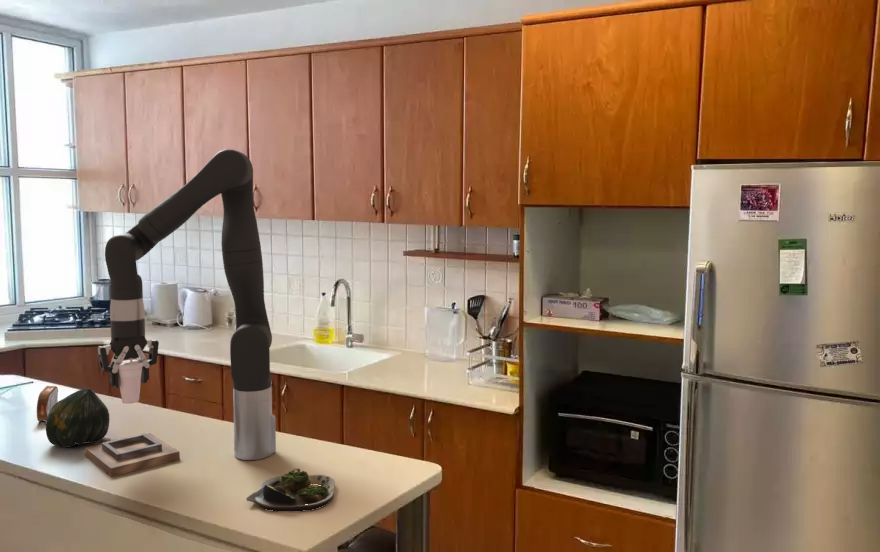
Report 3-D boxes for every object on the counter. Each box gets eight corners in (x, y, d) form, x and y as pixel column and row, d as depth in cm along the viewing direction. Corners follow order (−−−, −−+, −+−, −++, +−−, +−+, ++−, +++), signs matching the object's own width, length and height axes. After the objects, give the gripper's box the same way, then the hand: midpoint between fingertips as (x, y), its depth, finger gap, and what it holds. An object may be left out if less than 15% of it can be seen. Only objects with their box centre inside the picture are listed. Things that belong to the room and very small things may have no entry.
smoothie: (134, 406, 164) (132, 348, 163) (110, 404, 166) (108, 347, 164) (150, 398, 171) (148, 343, 169) (127, 396, 172) (125, 341, 170)
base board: (150, 440, 182) (149, 427, 181) (179, 459, 169) (179, 445, 168) (85, 455, 170) (84, 441, 170) (111, 476, 158) (110, 462, 157)
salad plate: (262, 476, 160) (261, 457, 159) (339, 475, 161) (339, 456, 160) (242, 514, 141) (242, 492, 140) (330, 513, 142) (330, 491, 141)
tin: (48, 409, 207) (47, 382, 206) (60, 409, 208) (59, 381, 207) (35, 425, 192) (34, 396, 192) (48, 424, 193) (47, 395, 192)
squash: (24, 426, 175) (53, 386, 171) (72, 411, 189) (101, 374, 185) (56, 468, 172) (87, 428, 168) (103, 450, 187) (133, 413, 183)
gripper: (151, 312, 174) (153, 377, 175) (90, 318, 164) (93, 387, 165) (163, 315, 168) (165, 383, 170) (101, 322, 158) (104, 393, 160)
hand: (129, 384), depth 168 cm, fingers closed on smoothie, 6 cm apart
